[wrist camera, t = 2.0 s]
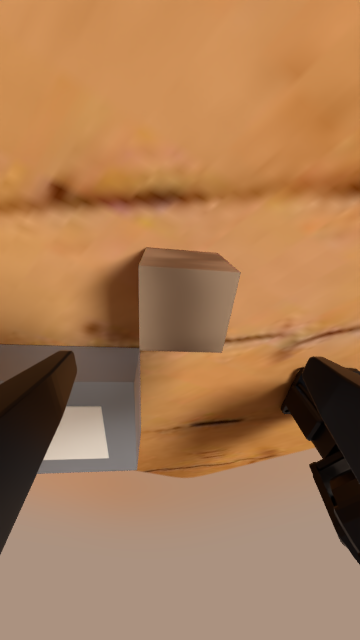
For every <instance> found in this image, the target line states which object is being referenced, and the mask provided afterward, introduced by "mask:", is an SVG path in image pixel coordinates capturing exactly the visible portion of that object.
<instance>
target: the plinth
mask: <svg viewBox="0 0 360 640" xmlns="http://www.w3.org/2000/svg"><path fill="white" fill-rule="evenodd" d="M60 350H71V351H73V353H74V356H75V361H76V365H77V375H76V378H75V381H74V384H73V387H72V390H71V393H70V396H69V399H68V403H67V406H66V409H65V411H64V414H63V417H62V419H61V422H60V424H59V426H58V428H57V430H56V433H55V435H54V437H53V439H52V442H51V444H50V446H49V448H48V450H47V453H46V455H45V457H44V459H43V461H42V464H41V466H40V468H39V470H38V472H37V474H41V473H69V472H70V473H71V472H99V471H125V470H127V471H128V470H137V464H138V455H139V445H140V435H141V398H140V350H139V348H117V347H80V346H42V345H4V344H0V384H1V383H3V382H5V381H7V380H8V379H10V378H12V377H14V376H15V375H17V374H19V373H21V372H22V371H24V370H26V369H28V368H29V367H31V366H33V365H35V364H36V363H38V362H40V361H42V360H44V359H45V358H47V357H49V356H51V355H52V354H54V353H56V352H58V351H60Z"/></svg>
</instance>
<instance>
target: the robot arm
mask: <svg viewBox="0 0 360 640" xmlns="http://www.w3.org/2000/svg"><path fill="white" fill-rule="evenodd" d="M76 375H77V365H76V361H75V356H74V353H73V351H71V350H60V351H58V352H56V353H54V354H52V355H51V356H49V357H47V358H45V359H44V360H42V361H40V362H38V363H36V364H35V365H33V366H31V367H29V368H28V369H26V370H24V371H22V372H21V373H19V374H17V375H15V376H14V377H12V378H10V379H8V380H7V381H5V382H3V383H1V384H0V554H1V552H2V550H3V547H4V545H5V543H6V541H7V539H8V536H9V534H10V532H11V530H12V528H13V525H14V523H15V521H16V519H17V517H18V514H19V512H20V510H21V508H22V506H23V503H24V501H25V499H26V497H27V495H28V492H29V490H30V488H31V486H32V483H33V481H34V479H35V477H36V474H37V472H38V470H39V468H40V466H41V464H42V461H43V459H44V457H45V455H46V453H47V450H48V448H49V446H50V444H51V442H52V439H53V437H54V435H55V433H56V430H57V428H58V426H59V424H60V422H61V419H62V417H63V414H64V411H65V409H66V406H67V403H68V399H69V396H70V393H71V390H72V387H73V384H74V381H75V378H76ZM281 410H282V412H283V413H284V414H291V415H292V416H293V418H294V419H295V421H296V423H297V424H298V426H299V428H300V429H301V431H302V432H303V434H304V436H305V437H306V439H307V440H309V441H312V443H313V444H314V446H315V447H316V449H317V450H318V452H319V453H320V455H321V456H322V458H323V459H322V460H320V461H318V462H313V463H311V464H309V466H310V468H311V471H312V473H313V478H314V480H315V483H316V485H317V487H318V489H319V492H320V494H321V497H322V499H323V501H324V503H325V506H326V509H327V511H328V513H329V516H330V518H331V520H332V523H333V525H334V527H335V530H336V532H337V534H338V537H339V539H340V541H341V542H342V544H343V545H344V546H346V547H347V548H348V549H349V551H350V552H351V554H352V555H353V557H354V558H355V559H356V560H357V562H358V563H359V564H360V371H358V370H357V369H346V368H344V367H342V366H340V365H338V364H336V363H334V362H332V361H330V360H328V359H326V358H324V357H311V358H309V360H308V362H307V364H306V366H305V368H303V369H301V370H300V371H299V372H298V374H297V376H296V378H295V380H294V382H293V384H292V387H291V389H290V391H289V393H288V395H287V397H286V399H285V401H284V403H283V405H282V407H281Z"/></svg>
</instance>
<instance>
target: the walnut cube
mask: <svg viewBox="0 0 360 640" xmlns="http://www.w3.org/2000/svg"><path fill="white" fill-rule="evenodd" d="M240 273H241V272H239V271H238V270H237V269H236V268H235V267H234V266H232V265H231V264H230V263H229V262H228V261H226V260H225V259H224V258H223V257H222V256H220V255H219V254H218V253H211V252H198V251H186V250H173V249H160V248H148V247H146V249H145V252H144V254H143V256H142V259H141V261H140V263H139V350H140V351H179V352H217V353H222V350H223V346H224V341H225V337H226V333H227V329H228V324H229V320H230V316H231V312H232V307H233V303H234V299H235V295H236V290H237V286H238V282H239V278H240Z"/></svg>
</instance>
